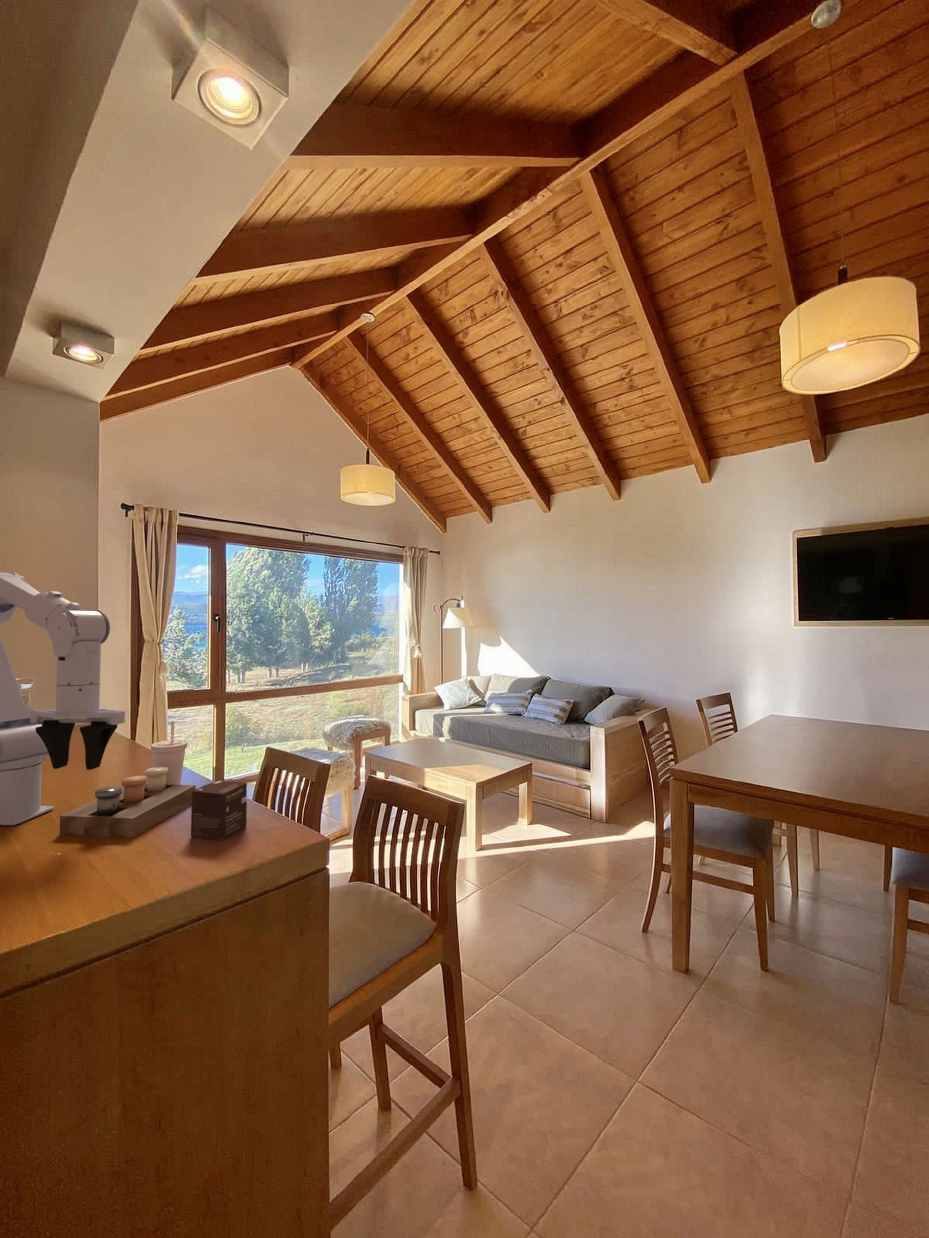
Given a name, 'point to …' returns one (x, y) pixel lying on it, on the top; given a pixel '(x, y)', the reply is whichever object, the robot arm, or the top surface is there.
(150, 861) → the top surface
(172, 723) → the smoothie
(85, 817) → the socket board
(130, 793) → the plug terracotta
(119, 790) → the plug metal
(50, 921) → the top surface
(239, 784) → the box
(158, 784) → the plug cream
